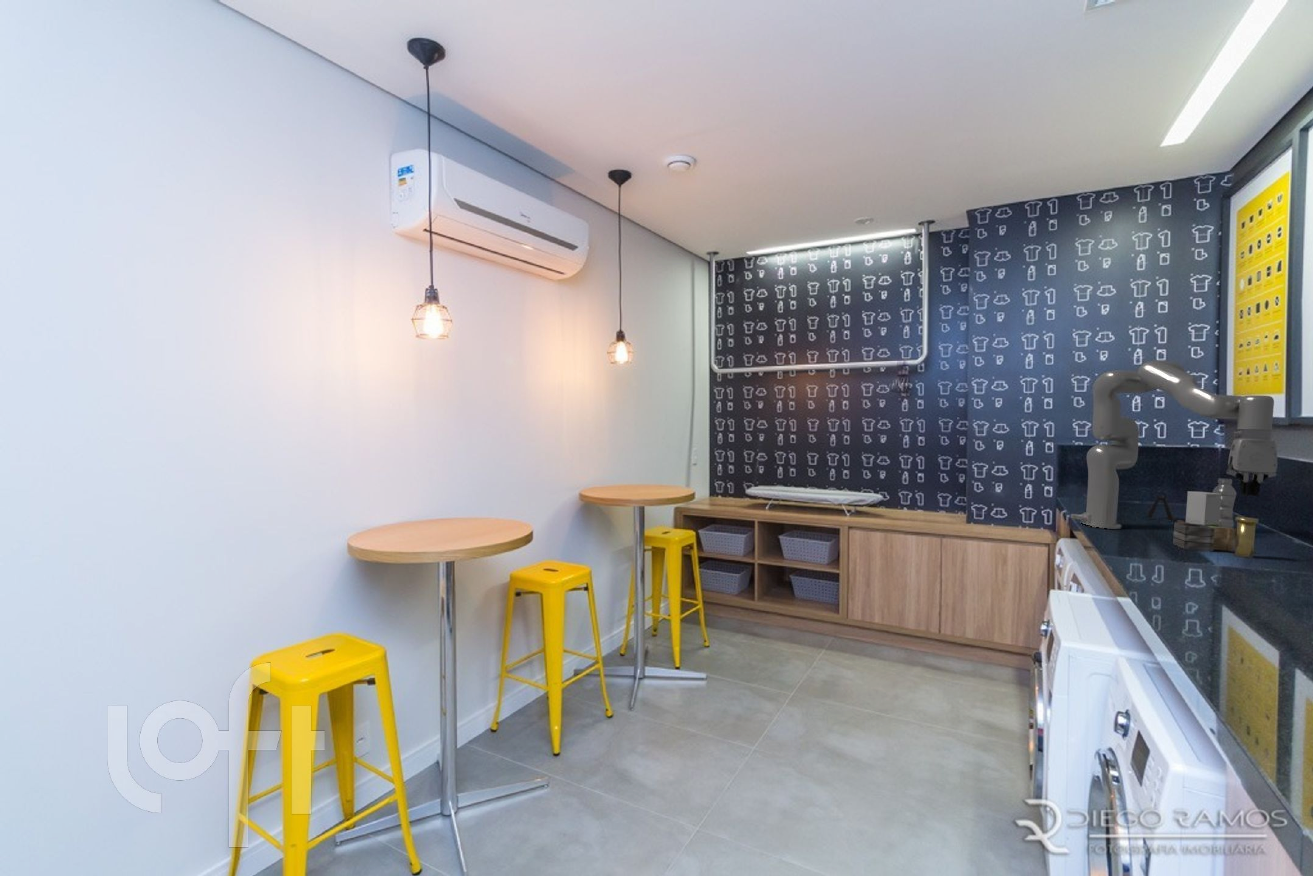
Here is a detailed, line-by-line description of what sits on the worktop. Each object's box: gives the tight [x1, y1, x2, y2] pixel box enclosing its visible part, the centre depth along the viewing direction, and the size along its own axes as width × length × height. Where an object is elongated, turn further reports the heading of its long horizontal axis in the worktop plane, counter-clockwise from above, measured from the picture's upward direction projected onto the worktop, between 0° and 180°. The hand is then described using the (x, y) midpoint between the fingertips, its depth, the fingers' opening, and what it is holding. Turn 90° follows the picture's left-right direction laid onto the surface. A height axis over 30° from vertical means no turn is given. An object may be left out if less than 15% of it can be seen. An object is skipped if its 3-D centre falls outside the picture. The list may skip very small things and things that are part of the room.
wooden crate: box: [1173, 526, 1237, 553], centre depth 193 cm, size 14×8×7 cm, turn 70°
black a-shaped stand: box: [1145, 490, 1175, 522], centre depth 248 cm, size 9×6×12 cm, turn 48°
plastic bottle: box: [1212, 477, 1237, 529], centre depth 225 cm, size 6×7×20 cm
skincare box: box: [1185, 490, 1221, 527], centre depth 218 cm, size 8×7×16 cm
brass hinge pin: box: [1234, 516, 1259, 558], centre depth 184 cm, size 5×5×12 cm
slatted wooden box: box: [1172, 519, 1215, 553], centre depth 197 cm, size 8×14×8 cm, turn 160°
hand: (1249, 494), depth 184 cm, fingers closed
